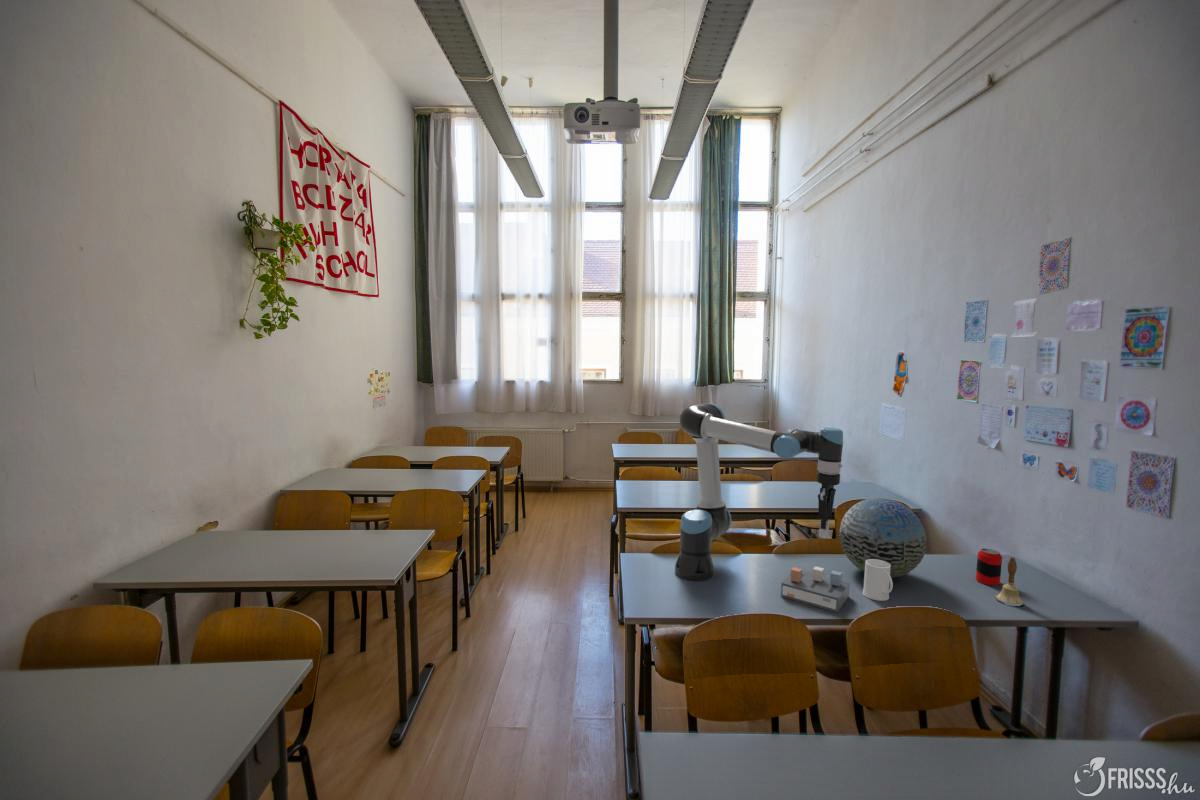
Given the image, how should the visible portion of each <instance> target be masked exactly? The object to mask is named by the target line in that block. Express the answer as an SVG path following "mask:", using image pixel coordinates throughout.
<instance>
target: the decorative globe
mask: <svg viewBox="0 0 1200 800" xmlns="http://www.w3.org/2000/svg"><path fill="white" fill-rule="evenodd" d="M839 541H840V545H841V548H842V551H843V553H844V554H845V556H846V558H847V560H849V562H851V563H852V564H853V566H855V567H856V568H857V569H859V570H860V571H861V572H864V573H865V561H866V560H868V559H878V560H883V561H886V562H888V563H889V564H890V565H891V569H890V576H891V579H893V578H899V577H902V576H906V575H907V574H909V573H910V572H912V571H913V570H914V569H916V568H917V567H918V565H919V564H920V563H921V562H922V560H923V558H924V556H925V553H926V549H927V535H926V531H925V528H924V525H923V523H922V522H921V520H920V518H919V516H917V514H916V513H915V512H913V510H912V509H910V508H909V507H907V506H906V505H904V504H903V503H901V502H899V501H897V500H894V499H889V498H885V497H871V498H867V499H863V500H860V501H859V502H857V503H855V504H854V505H853V506H851V507H850V508H849V509H848V510H847V511H846V512H845V514H844V515H843V517H842V519H841V522H840V526H839Z"/></svg>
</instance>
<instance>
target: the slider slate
mask: <svg viewBox="0 0 1200 800" xmlns="http://www.w3.org/2000/svg"><path fill="white" fill-rule="evenodd" d="M829 578H830V584H831V585H835V586H840V585H841V582H842V579H843V572H840V571H836V570H832V571H831V572H830V577H829Z"/></svg>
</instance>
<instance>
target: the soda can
mask: <svg viewBox="0 0 1200 800" xmlns="http://www.w3.org/2000/svg"><path fill="white" fill-rule="evenodd" d="M976 558H977V560H976V570H975V571H976V572H975V580H976V581H977V582H978V583H980V582H981V583H980V584H982V583H983V585H985V584H987V585H986V586H990V585H997V586H999V585H1000V584H1001V575H1002V574H1001V573H1002V565H1003V564H1002V563H1003V556H1002V555H1001V553H1000V551H997V550H995V549H992V548H981V549H980V550H979V551H978V552H977V557H976Z"/></svg>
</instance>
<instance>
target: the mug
mask: <svg viewBox="0 0 1200 800" xmlns="http://www.w3.org/2000/svg"><path fill="white" fill-rule="evenodd" d="M890 569H891V565H890V564H889V563H888V562H886V561H883V560H878V559H868V560H866V561H865V572H864V577H863V590H862V595H863V596H865V597H866V598H868V599H870V600H874V601H879V602H882V601H883V602H885V601H888V600H889V599H890V593H891V592H892V591H893V587H894V586H893V585H894V583H893V578H891V576H890Z"/></svg>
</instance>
